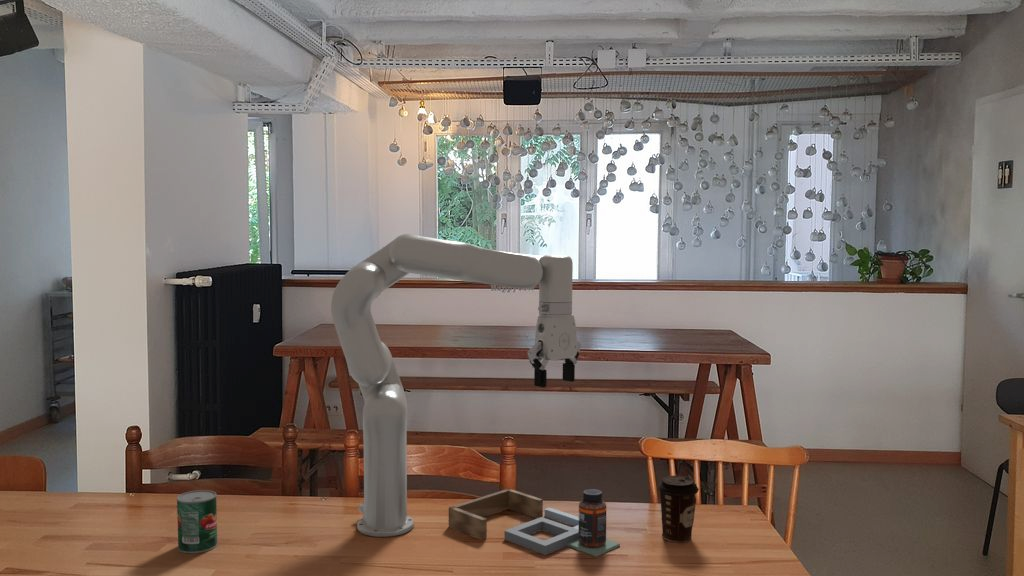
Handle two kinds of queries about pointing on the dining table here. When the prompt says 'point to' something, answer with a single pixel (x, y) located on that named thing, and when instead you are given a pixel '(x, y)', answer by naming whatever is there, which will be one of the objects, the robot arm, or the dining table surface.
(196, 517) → the canned tomato
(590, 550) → the pad
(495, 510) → the cubby
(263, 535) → the dining table surface
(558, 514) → the crook tool
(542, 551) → the hole board
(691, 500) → the coffee cup
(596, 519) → the supplement bottle
